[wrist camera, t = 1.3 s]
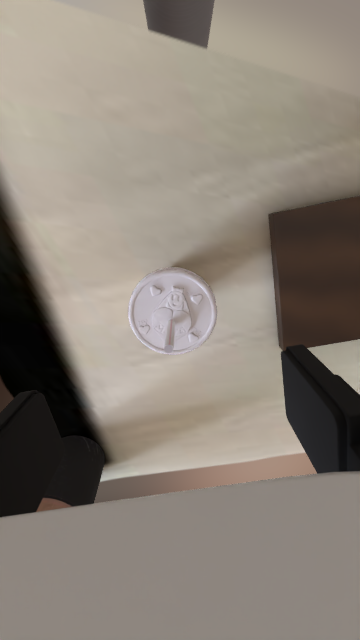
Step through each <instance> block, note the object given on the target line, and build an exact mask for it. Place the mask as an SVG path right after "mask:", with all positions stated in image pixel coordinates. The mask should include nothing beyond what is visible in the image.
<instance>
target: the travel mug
mask: <svg viewBox="0 0 360 640" xmlns="http://www.w3.org/2000/svg"><path fill="white" fill-rule="evenodd" d="M61 439H62V441H63V444H64V446H65V455H64V458H63V459H62V461H61V463H60V465H59V467H58V469H57V471H56V473H55V475H54V477H53V479H52V481H51V483H50V485H49V487H48V489H47V491H46V493H45V495H44V497H43V499H42V501H41V503H40V505H39V507H38V509H37V511H36V512H40V511H47V510H54V509H61V508H67V507H74V506H81V505H88V504H94V500H95V497H96V493H97V489H98V486H99V482H100V478H101V475H102V471H103V467H104V462H105V456H104V452H103V450H102V449H101V447H100V446H99V445H98V444H97V443H96V442H94V441H93V440H91V439H89V438H86V437H83V436H77V435H73V436H66V437H63V438H61Z"/></svg>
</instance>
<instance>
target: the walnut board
mask: <svg viewBox="0 0 360 640" xmlns="http://www.w3.org/2000/svg"><path fill="white" fill-rule="evenodd" d="M269 226H270V238H271V250H272V263H273V275H274V288H275V300H276V312H277V325H278V337H279V346H280V348H281V349H282V350H283V351H285V350H286V347H288V346H294V345H300V344H303V345H304V346H305V347H306V348H310V347H315V346H321V345H327V344H333V343H339V342H345V341H351V340H357V339H360V196H355V197H350V198H345V199H340V200H335V201H330V202H326V203H321V204H316V205H311V206H306V207H301V208H296V209H291V210H286V211H281V212H277V213H272V214H269Z"/></svg>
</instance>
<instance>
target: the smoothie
mask: <svg viewBox="0 0 360 640" xmlns="http://www.w3.org/2000/svg"><path fill="white" fill-rule="evenodd" d="M128 317H129V322H130V325H131V328H132V330H133V332H134V334H135V335H136V337H137V338H138V339H139V340H140V341H141V342H142V343H143V344H144V345H145V346H147V347H148V348H150V349H152V350H154V351H156V352H159V353H163V354H170V355H176V354H183V353H187V352H190V351H192V350H194V349H196V348H198V347H199V346H201V345H202V344H203V343H204V342H205V341H206V340H207V339H208V338H209V336H210V335H211V333H212V331H213V329H214V327H215V324H216V319H217V306H216V301H215V296H214V294H213V292H212V290H211V288H210V286H209V285H208V284H207V283H206V282H205V281H204V279H203V278H201V277H200V276H198V275H197V274H195V273H194V272H192V271H189V270H186V269H183V268H179V267H167V268H163V269H158V270H156V271H154V272H152V273H150V274H148V275H146V276H145V277H144V278H143V279H142V280H141V281H140V282H139V283H138V284H137V286H136V288H135V289H134V291H133V292H132V296H131V298H130V302H129V307H128Z"/></svg>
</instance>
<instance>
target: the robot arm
mask: <svg viewBox="0 0 360 640" xmlns="http://www.w3.org/2000/svg"><path fill="white" fill-rule="evenodd" d="M281 360H282V372H283V384H284V396H285V408H286V415H287V418H288V421H289V423H290V425H291V426H292V428H293V430H294V432H295V434H296V435H297V437H298V439H299V441H300V443H301V445H302V446H303V448H304V450H305V452H306V454H307V455H308V457H309V459H310V461H311V463H312V464H313V466H314V468H315V470H316V472H317V474H310V475H300V476H290V477H282V478H275V479H268V480H260V481H253V482H246V483H238V484H232V485H224V486H216V487H210V488H202V489H195V490H187V491H180V492H173V493H166V494H158V495H152V496H144V497H137V498H131V499H123V500H116V501H110V502H102V503H96V504H88V505H81V506H74V507H67V508H61V509H54V510H47V511H40V512H36V511H37V509H38V507H39V505H40V503H41V501H42V499H43V497H44V495H45V493H46V491H47V489H48V487H49V485H50V483H51V481H52V479H53V477H54V475H55V473H56V471H57V469H58V467H59V465H60V463H61V461H62V459H63V458H64V455H65V446H64V444H63V441H62V439H61V436H60V434H59V431H58V429H57V427H56V424H55V422H54V419H53V417H52V414H51V412H50V410H49V407H48V405H47V402H46V400H45V397H44V395H43V394H42V393H39V392H38V391H36V390H33V391H27V392H22V393H19V394H18V395H17V396H16V397H15V398H14V399H13V400H12V401H11V402H10V403H9V404H8V405H7V406H6V408H5V409H4V410H3V411H2V412H1V413H0V640H360V395H359V394H358V393H357V392H356V391H355V390H354V389H353V388H352V387H351V386H350V385H349V384H347V383H346V382H345V381H344V380H343V379H342V378H341V377H340V376H338V375H334V374H333V373H332V372H331V371H330V370H329V369H328V368H327V367H326V366H325V365H324V364H323V363H322V362H321V361H319V360H318V359H317V358H316V357H315V356H314V355H313V354H312V353H311V352H310V351H309V350H308V349H307V348H306V347H305V346H304V345H303V344H300V345H294V346H288V347H286V350H285V351H282V352H281Z"/></svg>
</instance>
